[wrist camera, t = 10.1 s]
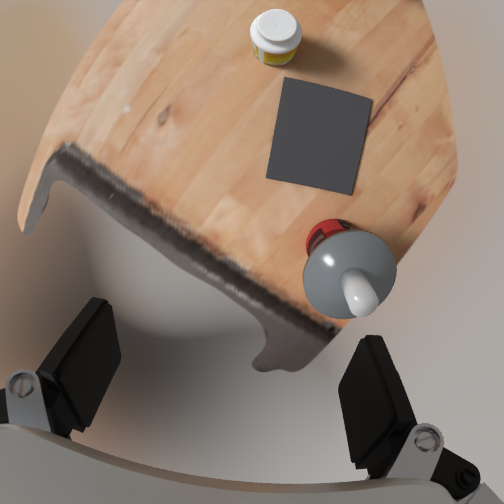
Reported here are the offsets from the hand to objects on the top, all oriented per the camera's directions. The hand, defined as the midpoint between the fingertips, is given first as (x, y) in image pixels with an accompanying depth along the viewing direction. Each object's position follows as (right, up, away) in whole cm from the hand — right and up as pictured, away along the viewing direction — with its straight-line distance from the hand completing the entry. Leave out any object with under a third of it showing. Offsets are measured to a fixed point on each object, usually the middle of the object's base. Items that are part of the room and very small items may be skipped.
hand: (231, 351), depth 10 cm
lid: (+12, +1, +22) cm, 25 cm away
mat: (+10, +19, +26) cm, 34 cm away
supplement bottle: (+4, +30, +22) cm, 37 cm away
